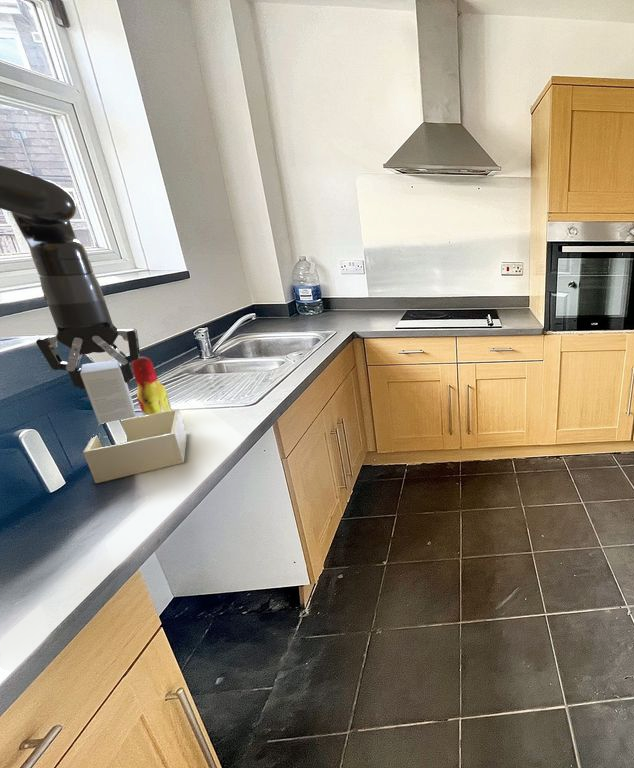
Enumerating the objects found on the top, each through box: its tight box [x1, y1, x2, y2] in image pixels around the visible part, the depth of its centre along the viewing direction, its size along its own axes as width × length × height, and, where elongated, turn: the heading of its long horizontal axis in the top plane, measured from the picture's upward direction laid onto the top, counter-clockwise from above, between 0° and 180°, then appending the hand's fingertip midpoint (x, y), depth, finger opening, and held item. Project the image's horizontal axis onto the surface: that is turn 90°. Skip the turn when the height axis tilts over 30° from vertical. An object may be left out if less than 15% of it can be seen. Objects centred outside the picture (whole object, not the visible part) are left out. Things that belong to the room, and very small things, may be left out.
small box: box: [80, 359, 136, 425], centre depth 83 cm, size 8×6×10 cm
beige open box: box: [82, 408, 188, 484], centre depth 101 cm, size 16×18×8 cm
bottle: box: [131, 356, 172, 416], centre depth 117 cm, size 12×6×20 cm, turn 30°
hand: (106, 384), depth 82 cm, fingers closed on small box, 6 cm apart
